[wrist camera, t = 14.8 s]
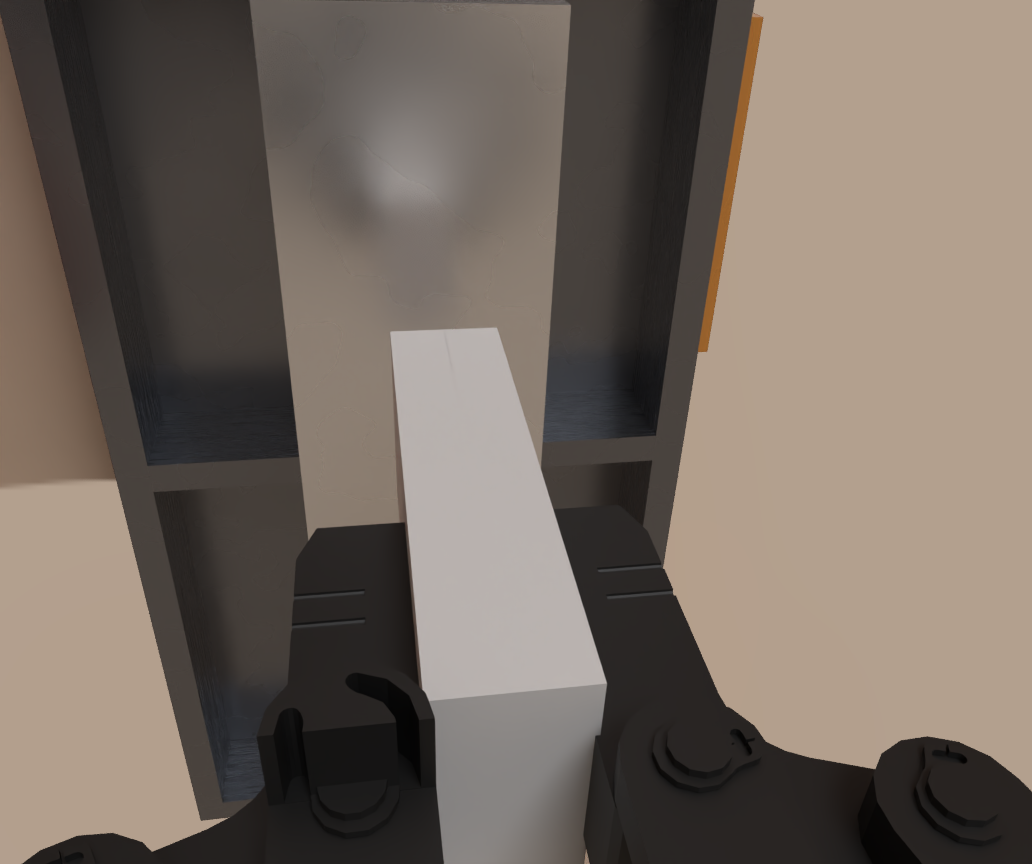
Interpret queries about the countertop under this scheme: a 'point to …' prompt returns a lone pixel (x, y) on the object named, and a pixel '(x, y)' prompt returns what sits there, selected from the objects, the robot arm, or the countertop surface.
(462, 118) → the plain grey rectangular box
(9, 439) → the countertop surface
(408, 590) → the robot arm
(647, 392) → the tray
